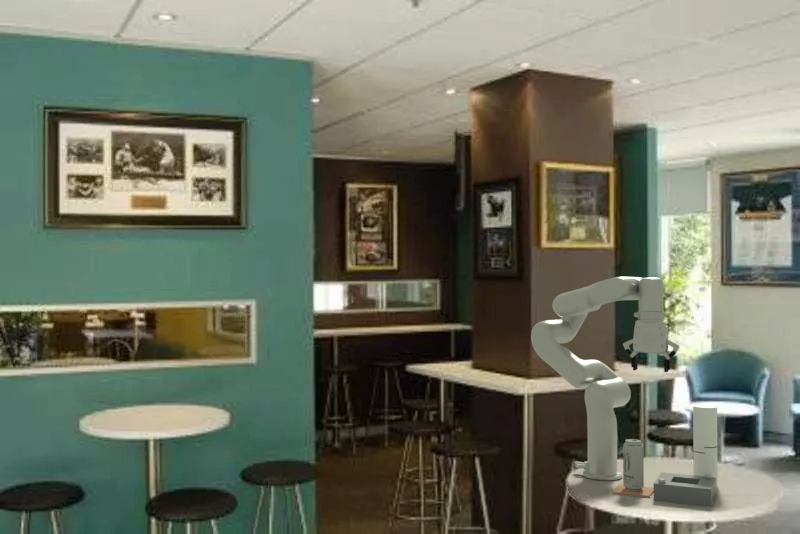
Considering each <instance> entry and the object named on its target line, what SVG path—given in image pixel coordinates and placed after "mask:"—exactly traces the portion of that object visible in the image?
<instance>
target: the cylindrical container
mask: <svg viewBox="0 0 800 534" xmlns="http://www.w3.org/2000/svg"><path fill="white" fill-rule="evenodd" d="M692 407H693V409H692V410H693V412H692V414H693V415H692V416H693V421H692V425H693V426H692V427H693V433H692V435H693V438H692V439H693V441H692V442H693V449H692V450H693V475H695V476H705V474H710V475H712V477H716V488H718V485H719V484H718V481H719V480H718V476H719V475H718V406H716V405H712V404H694V405H693V406H692Z"/></svg>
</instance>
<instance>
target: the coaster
mask: <svg viewBox="0 0 800 534" xmlns="http://www.w3.org/2000/svg"><path fill="white" fill-rule="evenodd" d="M611 494H613V495H619V496H620V495H621V496H626V497H627V496H631V497H637V496H639V497H638V498H646V497H648V498H647V499H650V498H651V497H652V496H653V495H654V486H653V487H650V486H644V487H643V488H642V491H638V492H634V491H628V490H625V487H624V486H623V483H619V484H618V485H617V486H616V487H615V488H614V489H613V491H612V493H611ZM650 496H651V497H650Z"/></svg>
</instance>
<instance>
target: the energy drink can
mask: <svg viewBox="0 0 800 534" xmlns="http://www.w3.org/2000/svg"><path fill="white" fill-rule="evenodd" d="M622 446H623V447H622V454H623V455H622V457H623V460H622V464H623V467H622V469H623V470H622V471H623V472H622V477H623V478H622V479H623V481H622V482H623V483H622V484H623V486H624V487H625V490H628V491H634V492H638V491H642V488H643V487H645V486H644V485H645V483H644V482H645V481H644V479H645V478H644V477H645V476H644V475H645V474H644V473H645V472H644V470H645V468H644V467H645V466H644V461H645V460H644V454H645V453H644V445H643V443H642V440H640V439H637V438H628V439H627V438H625V442H624V443H623V445H622Z"/></svg>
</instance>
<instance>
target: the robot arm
mask: <svg viewBox="0 0 800 534" xmlns="http://www.w3.org/2000/svg"><path fill="white" fill-rule="evenodd" d="M617 301H618V302H619V301H638V311H637V312H634V313H633V317H635V318H637V319H638V320H635V323H634V329H633V338H632V339H630V340H629V339H628V340H627V341H625V342H623V343H622V346H623V347H624V350H625V353H627V354H628V355H629V357H630V358H631V362H630V364H631V368H632V370H633V371H637V370H638V367H639V365H638V364H639V363H638V359H639V358H638V356H637V355H638V354H639V353H641V354H642V353H643V354H647V353H648V354H662V355H663V356H664V357H665V358H664V360H663V372H664V373H669V371H670V370H671V359H672V358H674V356H675V355H676V354H677V353H678V350H679V349H680V345H679V344H677V343H676V342H673V341H672V340H670V339H669V338H668V337H669V336H668V329H667V324H666V321H664V280H663V279H662V278H660V277H639V276H636V277H635V276H616V277H612V278H607V279H603V280H601V281H597V282H594V283H592V284H590V285H587V286H584V287H582V288H578V289H577V288H576V289H574V290H570V291H565V292H563V293H560V294H558V295H557V296H555V297H554V299H553V301H552V310H553V312H554V313H555V314H556V315H557V316H559V317H560V318H559V319H546V320H542V321H539V322H537V323H536V324H535V325H534V326H533V328H532V330H531V334H530V339H531V344H532V345H531V346H532V347H533V350H534V351H535V353H536V354H537V355H538V356H539V358H541V360H542V361H544V362H545V363H546V364H548V365H549V367H551V368H552V369H553V370H554V371H555V372H556V373H558V374H559V375H560V376H561V377H562V378H563V379H564V380H565V381H566V382H567V383H568V384H570V385H571V386H572V387H574V388H575V389H579V390H580V389H582V390H583V389H585V391H584V404H585V408H586V416H587V417H586V418H587V419H586V420H587V422H586V423H587V460H586V461H584V462H582V461H575V462H574V467H575V468H576V469H583V471H582V476H583V477H584V478H588V479H591V480H595V481H596V480H597V481H616V480H620V479H623V478H622V477H623V472H621V471H618V423H617V422H618V421H617V416H616V414H615V410H614V409H615V408H619V407H623V406H625V405H627V404H628V403H629V401H630V400H631V397H632V395H631V394H632V391H631V388H630V386H629V384H628V383H627V381H626V380H625V379H623V378H622V377H621V376H620V375H618V373H616V371H615V372H614V370H612V369H611V368H610V367H609V366H608V365H607V364H605V363H604V362H603V361H600V360H598V359H582V358H581V357H578V356H577V355H575V354H574V353H573V351H571V350H570V349H569V348H567V347H565V346H563V345H561V344H567V343H569V342H571V341H573V339H574V338H575V337H576V335H577V334H578V332H579V331H580V329H581V327H582V325H583V323H584V322H585V320H586V319H587V316H588V314H589V313H591V312H595V311H599V310H600V308H601V307H602V305H606V304H609V303H610V304H611V303H613V302H617ZM631 345H632V349H633V350H632V349H631V347H630V346H631ZM669 346H670V347H672V349H671V351H670V353H669V351H668V350H669Z"/></svg>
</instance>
